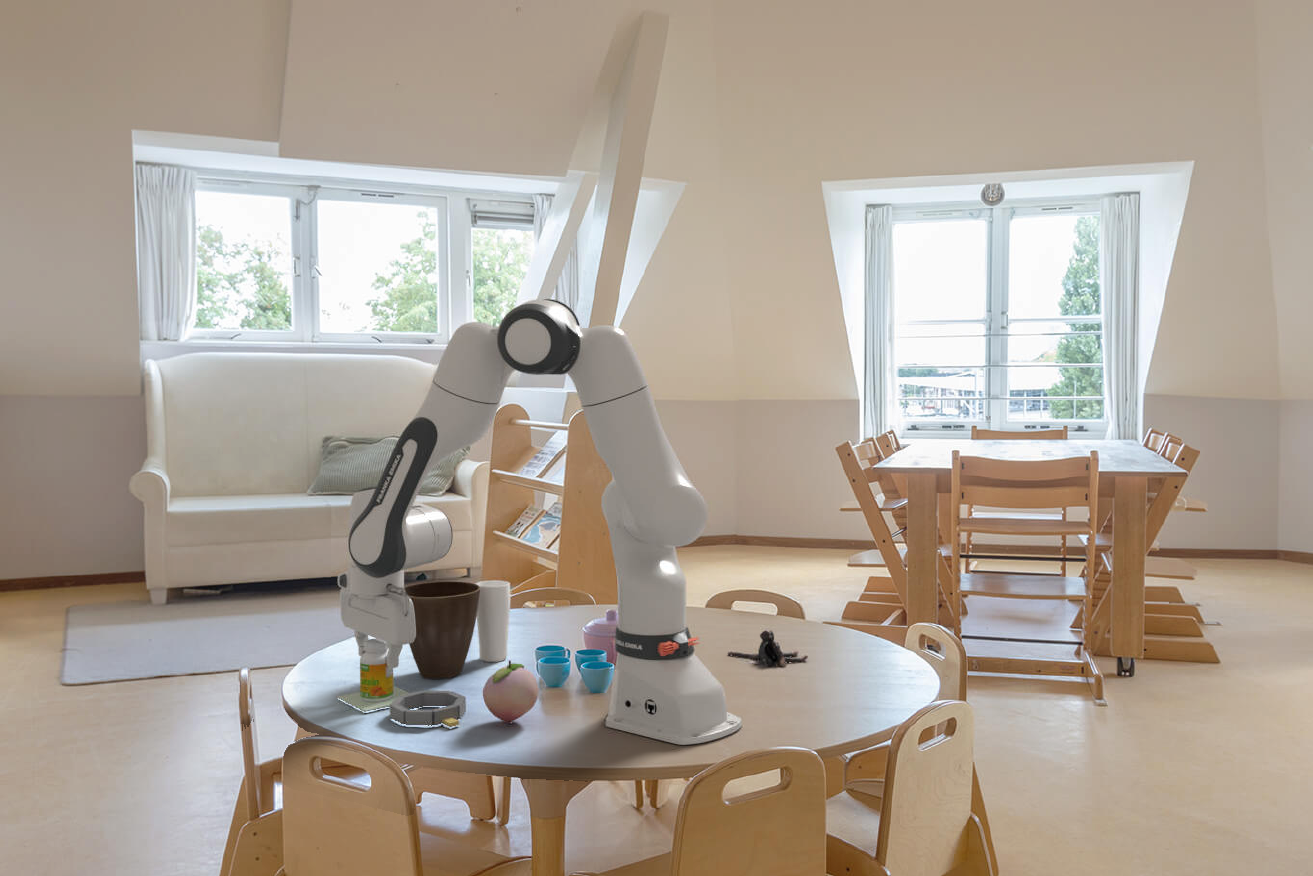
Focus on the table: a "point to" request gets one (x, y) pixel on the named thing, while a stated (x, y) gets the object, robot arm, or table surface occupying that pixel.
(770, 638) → the stuffed animal
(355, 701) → the mat
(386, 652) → the supplement bottle
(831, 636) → the table surface
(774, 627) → the table surface
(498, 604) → the drinking glass
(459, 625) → the plant pot
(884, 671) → the table surface
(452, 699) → the collar
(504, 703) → the decorative fruit
